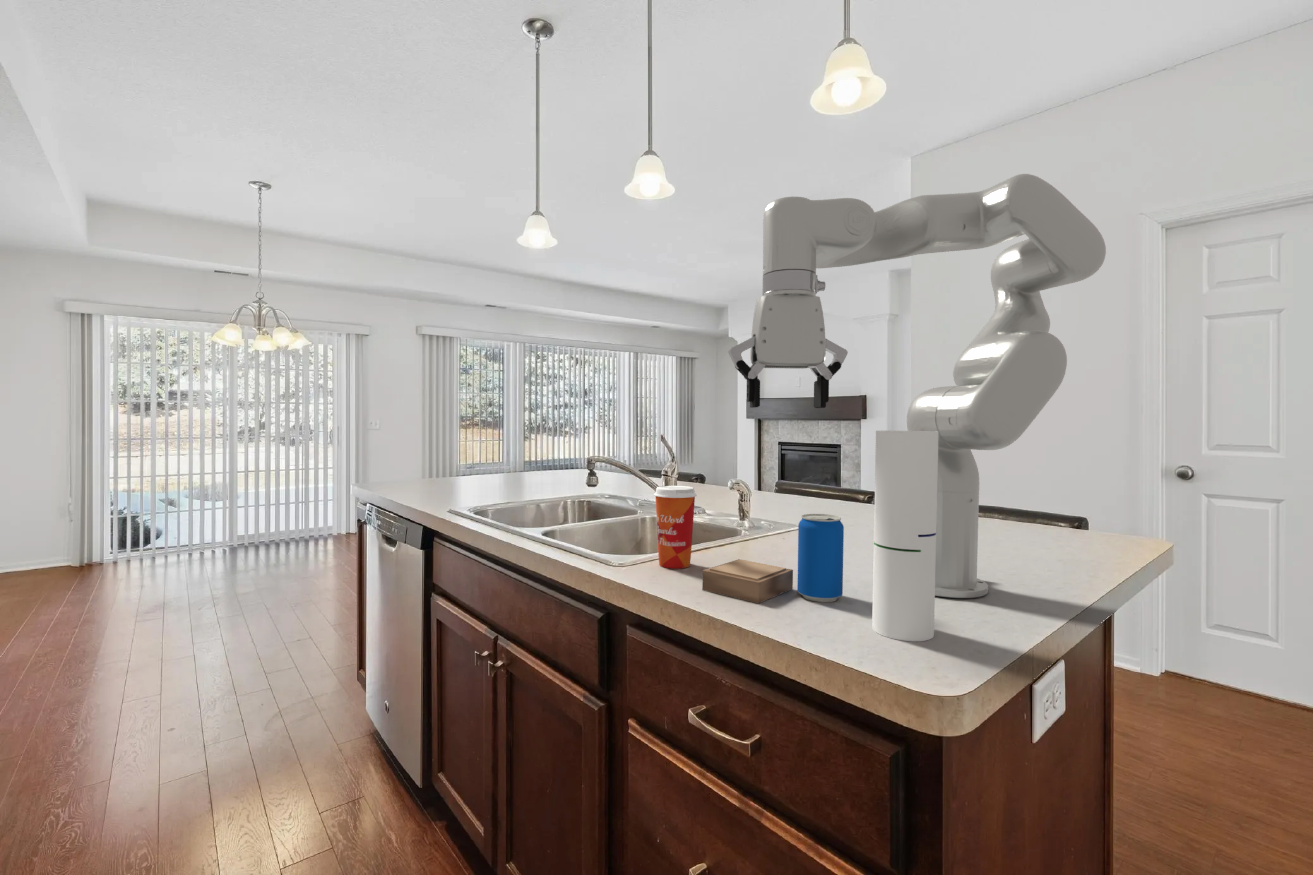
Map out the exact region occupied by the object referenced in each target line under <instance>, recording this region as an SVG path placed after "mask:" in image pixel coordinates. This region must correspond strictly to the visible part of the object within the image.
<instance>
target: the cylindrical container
mask: <svg viewBox="0 0 1313 875" xmlns="http://www.w3.org/2000/svg"><path fill="white" fill-rule="evenodd" d="M874 456H875V460H874V461H875V466H874V468H875V469H874V509H873V510H874V514H873V516H874V518H873V519H874V520H873V526H874V527H873V560H872V561H873V564H872V565H873V566H872V569H873V570H872V608H871V609H872V612H871V613H872V614H871V616H872V620H871V625H872V626H871V628H872V630H873V631H874V632H875V633H877V634H879V635H881V636H884V637H886V638H889V639H894V640H898V641H904V642H924V641H929V640H932V639H933V638H934V636H935V600H936V599H935V597H936V596H935V563H936V519H937V476H938V432H937V431H908V430H875V455H874Z"/></svg>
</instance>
